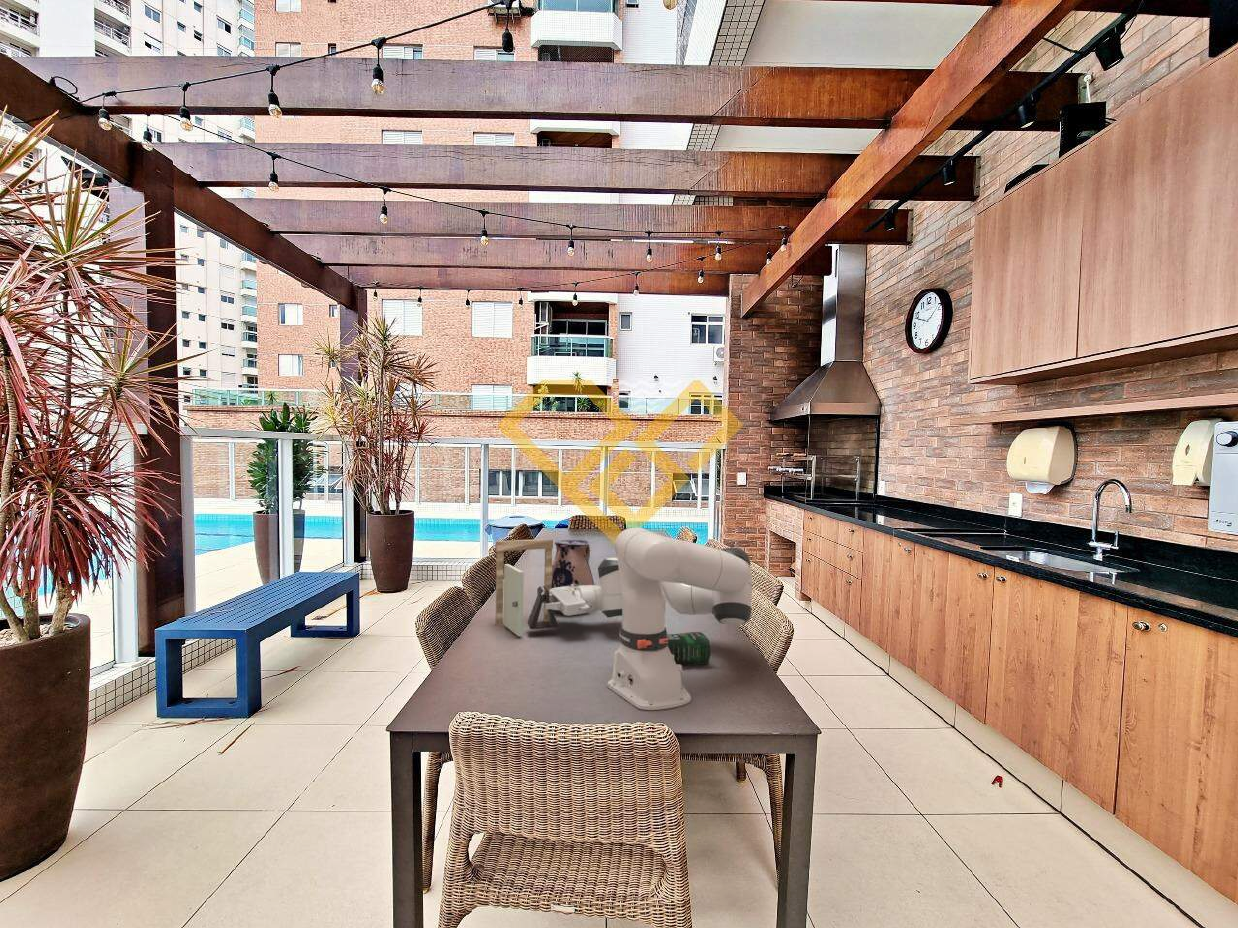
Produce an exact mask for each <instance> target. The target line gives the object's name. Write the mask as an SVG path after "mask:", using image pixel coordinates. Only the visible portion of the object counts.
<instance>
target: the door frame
mask: <svg viewBox="0 0 1238 928" xmlns="http://www.w3.org/2000/svg"><path fill="white" fill-rule="evenodd" d="M553 549H554V539H552V538H537V539H536V538H535V539H534V538H533V539H515V540H514V539H513V540H496V541H495V551H496V557H495V558H496V562H495V564H496V565H495V568H496V569H495V573H496V575H495V626H496V627H502V626H504V625H503V618H504V559H505V557H504V552H509V551H510V552H512V551H513V552H514V551H530V550H531V551H533V550H544V579H543V580H544V585H543V586H545V587H546V589H547V590H548V592H549V590H550V589H551V588H552V564H553ZM544 593H545V589H544V588H543V594H544ZM550 603H551V602H550ZM544 604H545V603H543V605H544ZM544 620H545V621H549V616H548V612H547V609H545V607H544V606H543V621H544Z"/></svg>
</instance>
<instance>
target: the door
mask: <svg viewBox="0 0 1238 928" xmlns="http://www.w3.org/2000/svg"><path fill="white" fill-rule="evenodd" d="M524 573H525V572H524V571H523V570H521V569H520V568H517V567H515V566H513V565H511V564H509V563H505V564H504V566H503V626H505V627H506V628H507V629H509V630H510V631H511V632H512V633H513V634H515V635H516V636H517V637H523V634H524V633H523V631H524V588H525V586H524V583H525V582H524V578H525V574H524Z"/></svg>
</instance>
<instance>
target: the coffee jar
mask: <svg viewBox="0 0 1238 928" xmlns="http://www.w3.org/2000/svg"><path fill="white" fill-rule="evenodd" d="M667 634H668V633H667ZM668 648H669V650H670V652H671V654H672V655H674V660H675V663H676V665H677V664H680V665H681V666H686V665H688V666H689V665H707V664H709V662H710V659H711V656H712V649H711V645H710V640H709V638H708V637H707V636H706V635H705V634H704V633H703V632H702V631H692V632H691V631H690V632H683V633H682V632H681V633H669V634H668Z"/></svg>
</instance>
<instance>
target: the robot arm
mask: <svg viewBox="0 0 1238 928" xmlns="http://www.w3.org/2000/svg"><path fill="white" fill-rule="evenodd" d="M614 551H615V555H616V557H607V558H604V559H603V560H602V561H601V563H600V564H599V565H598V567H597V573H598V579H599V585H595V584H594V585H578V584H572V585H571V586H563V587H556V588H552V589H550V590H549V601H550V602H552V603H550V602H548V603H545V601H544V602H543V603H542V604H543V608H544V607H545V609H553V611H557V610H560V611H561V612H560V613H562V615H564V616H575V615H581V614H589V613H595V612H598V611H601V613H602V614H603V615H604V616H605V617H606V618H614V617H621V625H620V628H619V634H618V635H619V642H620V644H619V645H618V648H617V649H616V651H615V652H614V656H613V669H612V678H611V679H610V680H608V681H607V685H606V686H607V688H609V689H610V690H611V691H612V692H614V693H616V694H617V695H618V696H619V697H621V698H622V699H624V700H626V701H627V702H628V703H630V704H631V705H632V706H634V707H636V708H637V709H639V710H645V711H657V710H658V711H659V710H667V709H672V708H676V707H681V706H684V705H686V704H688V703H690V702H691V701H692V696H691V695H690V693H689V692H688V690H687V689H686V688H685V686H684V685H683V683H682V676H681V674H683V665H680V664H677V665H676V663H675V660H674V655H672V654H671V652H670V650H669V648H668V633H667V632H668V631H667V627H666V602H667V603H668V605H669V607H671V609H673V611H675V613H678V614H679V615H686V616H704V615H713V616H714V618H715V620H717V622H719V624H723V625H725V626H729V627H735V626H736V627H738V626H742V625H745V624H747V623H748V622H749V621H750V619H751V616H752V611H753V610H752V599H753V598H752V594H753V593H752V592H753V589H752V588H753V581H752V572H751V571H752V570H751V565H752V564H751V560H750V556H749V555H748V553H746V551H745V550H743V549H741V548H737V547H728V548H727V547H725V548H721V549H719V548H715V547H712V546H707V545H703V544H699V543H695V542H693V541H687V540H681V539H677V538H673V537H668V536H664V535H661V534H659V533H655V532H653V531H651V530H648V529H646V528H643V527H638V526H637V527H630V528H626V529H624V530H622V531H621V532H619V534H618V535H617V537H616V538H615V542H614ZM544 603H545V604H544Z"/></svg>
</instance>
